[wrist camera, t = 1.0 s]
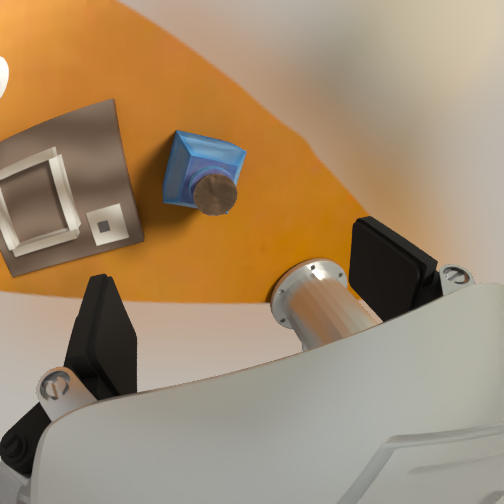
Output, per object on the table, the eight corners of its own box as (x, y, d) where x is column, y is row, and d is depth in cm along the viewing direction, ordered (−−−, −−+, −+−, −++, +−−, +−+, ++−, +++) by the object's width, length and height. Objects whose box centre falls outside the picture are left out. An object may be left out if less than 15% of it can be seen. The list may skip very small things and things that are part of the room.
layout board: (144, 235, 33) (143, 247, 30) (16, 270, 29) (8, 283, 27) (114, 99, 25) (109, 98, 22) (-24, 155, 21) (-36, 161, 18)
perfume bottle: (231, 142, 31) (268, 164, 21) (216, 194, 33) (243, 240, 23) (176, 130, 28) (184, 144, 18) (162, 184, 31) (164, 227, 21)
